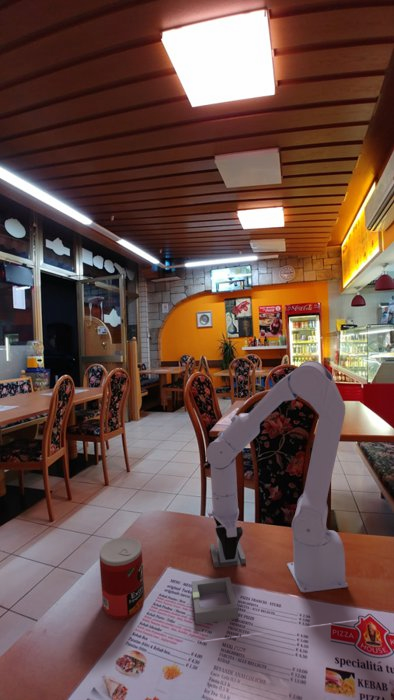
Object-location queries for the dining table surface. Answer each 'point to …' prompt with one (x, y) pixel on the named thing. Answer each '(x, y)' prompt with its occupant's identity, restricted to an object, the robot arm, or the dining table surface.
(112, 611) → the canned food
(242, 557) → the grey ridged plate
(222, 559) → the plug
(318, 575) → the robot arm
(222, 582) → the port
